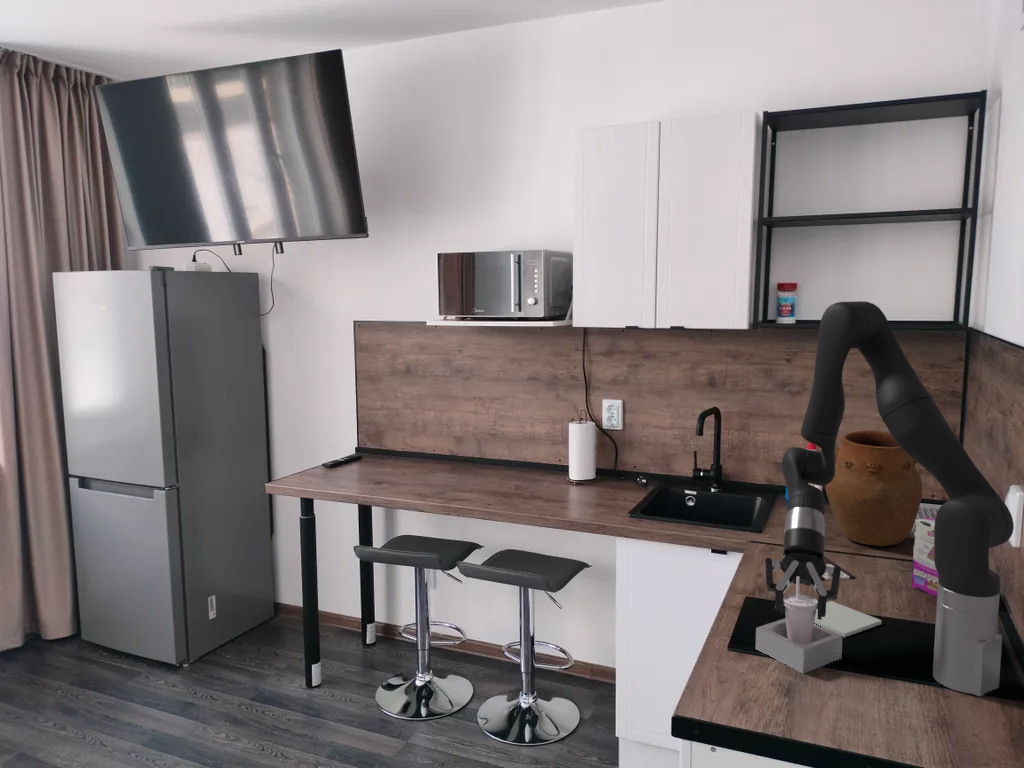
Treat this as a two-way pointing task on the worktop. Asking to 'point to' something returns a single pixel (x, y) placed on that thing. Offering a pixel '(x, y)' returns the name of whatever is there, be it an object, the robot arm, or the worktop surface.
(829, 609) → the sage mat
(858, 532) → the pot
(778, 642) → the gray square open box
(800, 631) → the smoothie
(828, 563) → the chocolate bar
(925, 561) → the candy bar box
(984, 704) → the worktop surface
